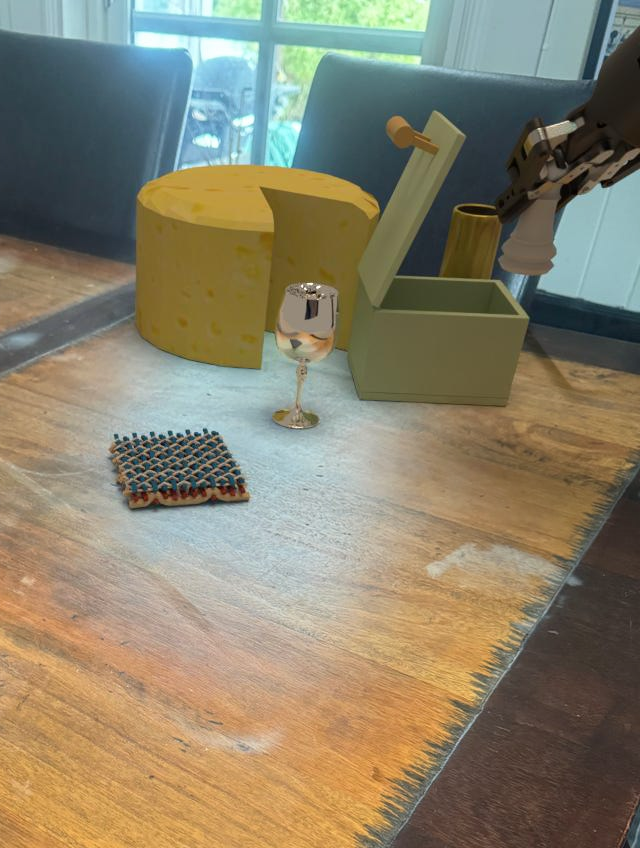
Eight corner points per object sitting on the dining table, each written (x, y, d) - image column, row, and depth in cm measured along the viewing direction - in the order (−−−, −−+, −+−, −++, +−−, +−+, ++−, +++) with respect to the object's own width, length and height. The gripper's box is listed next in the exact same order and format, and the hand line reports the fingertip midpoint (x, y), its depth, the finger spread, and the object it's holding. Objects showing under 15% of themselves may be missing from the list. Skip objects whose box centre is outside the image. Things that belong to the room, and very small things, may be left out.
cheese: (345, 382, 97) (369, 229, 88) (105, 350, 102) (104, 202, 93) (370, 304, 117) (392, 172, 108) (168, 280, 122) (173, 153, 113)
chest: (480, 362, 103) (500, 279, 98) (506, 406, 94) (530, 318, 88) (346, 356, 103) (359, 273, 98) (359, 399, 94) (374, 311, 89)
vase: (444, 330, 110) (472, 199, 102) (488, 346, 107) (521, 212, 98) (411, 341, 107) (437, 207, 99) (455, 358, 104) (487, 220, 95)
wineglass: (319, 436, 87) (338, 305, 80) (259, 425, 89) (272, 296, 81) (331, 411, 92) (350, 285, 84) (273, 402, 93) (287, 277, 86)
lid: (440, 113, 89) (393, 91, 88) (466, 136, 79) (414, 112, 78) (363, 270, 98) (319, 252, 97) (378, 308, 88) (330, 288, 88)
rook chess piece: (561, 268, 78) (591, 161, 73) (538, 280, 75) (567, 170, 70) (510, 257, 80) (535, 153, 75) (486, 268, 77) (511, 161, 72)
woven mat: (126, 513, 75) (126, 491, 74) (106, 453, 83) (106, 432, 82) (252, 504, 77) (254, 482, 76) (220, 446, 85) (222, 425, 84)
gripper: (755, 0, 63) (574, 163, 79) (591, 1, 58) (434, 174, 75) (790, 103, 62) (600, 246, 79) (627, 112, 58) (461, 262, 74)
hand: (520, 210), depth 76 cm, fingers closed on rook chess piece, 3 cm apart
